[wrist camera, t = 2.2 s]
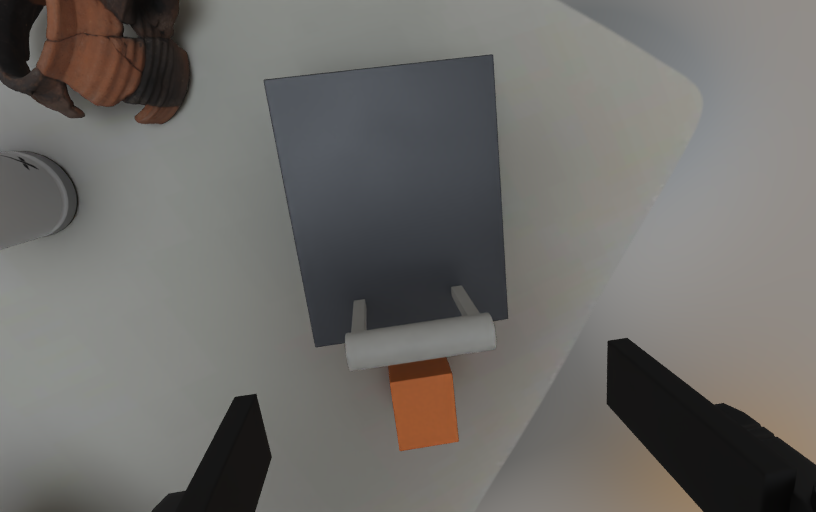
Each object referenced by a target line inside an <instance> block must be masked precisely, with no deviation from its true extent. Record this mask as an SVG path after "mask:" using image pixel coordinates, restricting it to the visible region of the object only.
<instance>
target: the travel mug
mask: <svg viewBox="0 0 816 512" xmlns="http://www.w3.org/2000/svg"><path fill="white" fill-rule="evenodd" d="M76 206H77V197H76V192H75V189H74V186H73V184H72V182H71V180H70V179H69V177H68V176H67V174H66V173H65V172H64V171H63V170H62V169H61V168H60V167H59V166H58V165H57V164H55V163H54V162H53V161H51V160H50V159H48V158H46V157H44V156H42V155H39V154H36V153H32V152H26V151H17V152H0V250H1V249H4V248H8V247H11V246H14V245H18V244H21V243H24V242H28V241H31V240H34V239H38V238H41V237H45V236H48V235H51V234H54V233H57V232H59V231H61V230H62V229H64V228H65V227H66V226H67V225H68V224H69V223H70V222H71V220H72V219H73V216H74V214H75V211H76Z"/></svg>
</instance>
